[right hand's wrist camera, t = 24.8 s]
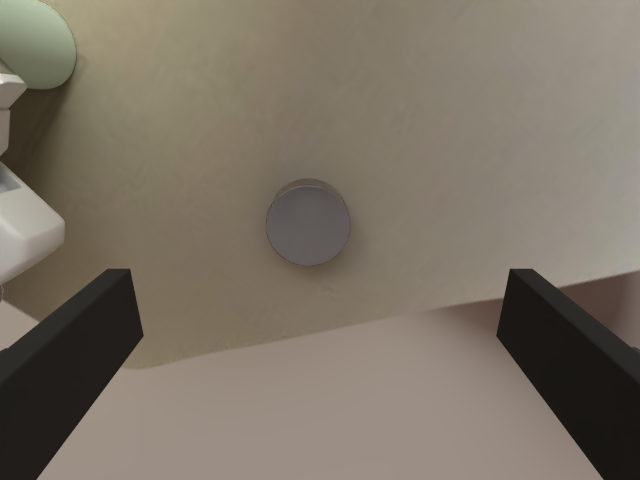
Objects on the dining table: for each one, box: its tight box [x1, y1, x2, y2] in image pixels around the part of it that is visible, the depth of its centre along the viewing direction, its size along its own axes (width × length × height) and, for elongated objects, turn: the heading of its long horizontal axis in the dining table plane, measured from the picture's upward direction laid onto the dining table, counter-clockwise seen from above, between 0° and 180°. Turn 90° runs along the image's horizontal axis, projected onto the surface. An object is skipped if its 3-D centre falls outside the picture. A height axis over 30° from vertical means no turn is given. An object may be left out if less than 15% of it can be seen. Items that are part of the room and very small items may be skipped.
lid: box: [266, 179, 350, 266], centre depth 25 cm, size 5×5×2 cm
